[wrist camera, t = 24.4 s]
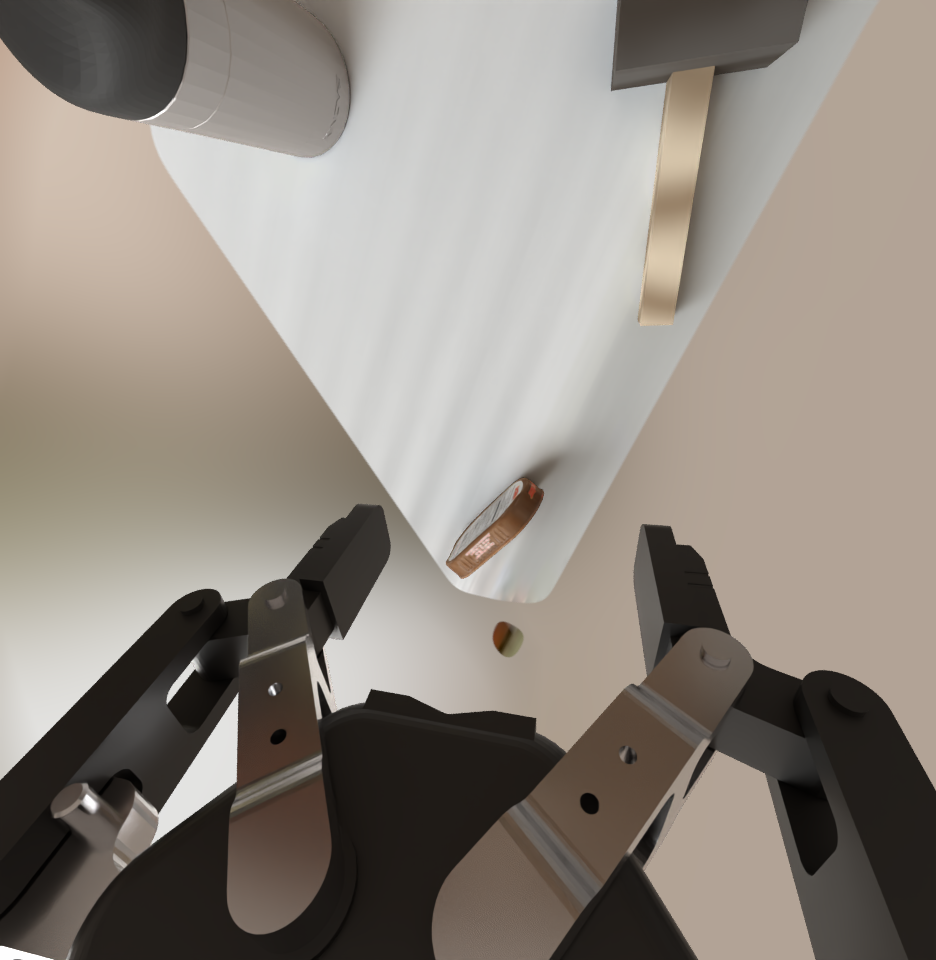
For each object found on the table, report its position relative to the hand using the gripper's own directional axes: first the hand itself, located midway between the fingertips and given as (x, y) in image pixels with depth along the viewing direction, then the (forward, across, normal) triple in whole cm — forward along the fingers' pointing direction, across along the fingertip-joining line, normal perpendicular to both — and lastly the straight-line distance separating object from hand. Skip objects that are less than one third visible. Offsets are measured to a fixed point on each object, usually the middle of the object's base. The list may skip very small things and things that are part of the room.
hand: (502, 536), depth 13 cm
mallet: (+32, -9, -10) cm, 35 cm away
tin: (+32, +6, +22) cm, 39 cm away
